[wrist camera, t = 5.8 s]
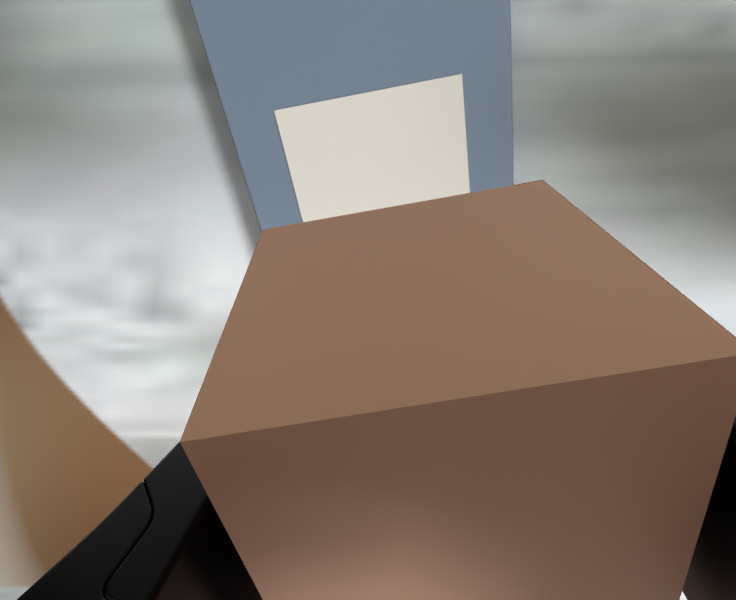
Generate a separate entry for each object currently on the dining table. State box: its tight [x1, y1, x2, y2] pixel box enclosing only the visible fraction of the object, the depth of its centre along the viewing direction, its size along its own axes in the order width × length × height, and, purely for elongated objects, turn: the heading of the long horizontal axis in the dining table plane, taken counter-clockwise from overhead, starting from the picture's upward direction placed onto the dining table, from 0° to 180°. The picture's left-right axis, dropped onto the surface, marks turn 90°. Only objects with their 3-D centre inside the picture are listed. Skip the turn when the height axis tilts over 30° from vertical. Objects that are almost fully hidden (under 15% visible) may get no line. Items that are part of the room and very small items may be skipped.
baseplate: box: [190, 0, 514, 231], centre depth 19 cm, size 10×30×1 cm, turn 10°
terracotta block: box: [180, 180, 736, 600], centre depth 8 cm, size 5×5×5 cm
